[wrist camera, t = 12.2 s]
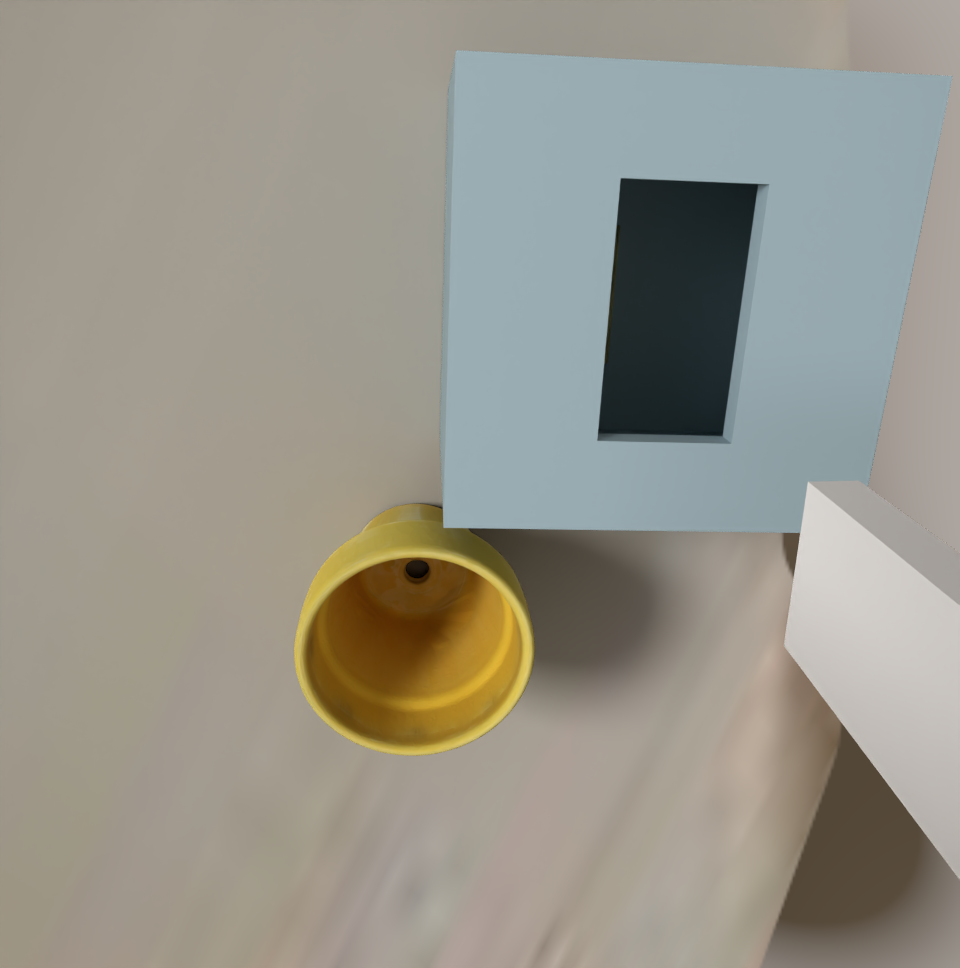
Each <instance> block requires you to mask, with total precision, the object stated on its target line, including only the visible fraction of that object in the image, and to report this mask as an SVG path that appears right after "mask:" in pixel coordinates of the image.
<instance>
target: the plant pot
mask: <svg viewBox="0 0 960 968" xmlns="http://www.w3.org/2000/svg"><path fill="white" fill-rule="evenodd" d="M414 560H422V561H424V562H426V563H427V564H428V565H429V570H428V573H427V574H426V575H425V576H424V577H422V578H418V579H417V578H412V577H410V576H409V575H408V574H407V572H406V565H407V564H408V563H409V562H411V561H414ZM294 654H295V666H296V672H297V676H298V680H299V683H300V685H301V688H302V691H303V693H304V695H305V697H306V699H307V700H308V702H309V704H310V705H311V707H312V708H313V709H314V711H315V712H316V713H317V714H318V715H319V717H320V718H321V719H322V720H323V721H324V722H325V723H326V724H327V725H329V726H330V727H331V728H332V729H333V730H335V731H336V732H338V733H339V734H340V735H342V736H344V737H345V738H347V739H349V740H351V741H352V742H354V743H356V744H359V745H361V746H363V747H366V748H369V749H372V750H376V751H379V752H383V753H389V754H395V755H407V756H408V755H412V756H419V755H430V754H436V753H441V752H445V751H448V750H452V749H455V748H458V747H461V746H463V745H466V744H468V743H470V742H472V741H474V740H476V739H478V738H479V737H481V736H483V735H484V734H486V733H487V732H489V731H490V730H492V729H493V728H494V727H495V726H497V725H498V724H499V723H500V722H501V721H502V720H503V719H504V718H505V717H506V716H507V715H508V714H509V713H510V712H511V711H512V709H513V708H514V707H515V705H516V704H517V702H518V701H519V699H520V698H521V696H522V694H523V693H524V691H525V688H526V686H527V684H528V681H529V679H530V675H531V672H532V668H533V663H534V655H535V641H534V632H533V627H532V622H531V618H530V614H529V610H528V606H527V602H526V599H525V596H524V594H523V591H522V588H521V585H520V583H519V581H518V579H517V577H516V575H515V573H514V571H513V569H512V568H511V567H510V565H509V564H508V562H507V561H506V560H505V559H504V558H503V557H502V555H501V554H500V553H499V552H498V551H497V550H496V549H495V548H493V547H492V546H491V545H490V544H489V543H487V542H486V541H484V540H483V539H481V538H480V537H478V536H477V535H475V534H473V533H471V532H470V530H469V529H468V528H444V527H443V509H441V508H438V507H434V506H431V505H426V504H406V505H401V506H396V507H393V508H391V509H389V510H386V511H384V512H383V513H381V514H379V515H378V516H376V517H375V518H374V519H372V520H371V521H370V522H369V523H368V524H367V525H366V527H365V528H364V529H363V531H362V532H361V533H360V534H358V535H356V536H355V537H353V538H352V539H350V540H349V541H347V542H346V543H345V544H343V545H342V546H341V547H339V548H338V549H337V550H336V551H335V552H334V553H333V554H332V555H331V556H330V557H329V558H328V559H327V560H326V562H325V563H324V564H323V566H322V567H321V568H320V570H319V571H318V573H317V575H316V576H315V578H314V580H313V582H312V584H311V586H310V589H309V591H308V594H307V596H306V599H305V602H304V605H303V608H302V611H301V615H300V619H299V623H298V628H297V632H296V638H295V650H294Z"/></svg>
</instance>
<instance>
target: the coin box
mask: <svg viewBox="0 0 960 968" xmlns="http://www.w3.org/2000/svg"><path fill="white" fill-rule="evenodd" d="M951 81H952V76H940V75H921V74H902V73H882V72H864V71H844V70H825V69H806V68H786V67H767V66H748V65H729V64H709V63H690V62H671V61H652V60H632V59H613V58H594V57H574V56H555V55H536V54H517V53H497V52H478V51H459V50H456V54H455V59H454V64H453V68H452V73H451V78H450V83H449V88H448V115H447V157H446V199H445V240H444V282H443V324H442V366H441V407H440V453H441V478H442V502H443V527H444V528H495V529H565V530H635V531H706V532H776V533H801V526H802V519H803V512H804V505H805V499H806V492H807V485H808V482H813V481H860V482H862V483H863V484H864V485H866V486H867V487H868V484H869V479H870V475H871V470H872V465H873V460H874V455H875V449H876V445H877V440H878V435H879V430H880V426H881V421H882V416H883V411H884V406H885V401H886V397H887V392H888V387H889V382H890V377H891V373H892V368H893V363H894V357H895V353H896V348H897V343H898V338H899V334H900V328H901V324H902V319H903V314H904V309H905V305H906V299H907V294H908V290H909V285H910V280H911V275H912V270H913V265H914V260H915V256H916V251H917V246H918V241H919V237H920V232H921V227H922V222H923V217H924V212H925V207H926V203H927V198H928V193H929V188H930V183H931V178H932V173H933V168H934V163H935V159H936V154H937V149H938V144H939V139H940V135H941V129H942V125H943V120H944V115H945V110H946V105H947V100H948V96H949V91H950V86H951ZM616 225H620V235H619V246H618V257H617V268H616V279H615V290H614V301H613V312H612V323H611V334H610V345H609V356H608V363H604V359H605V348H606V337H607V326H608V315H609V303H610V292H611V281H612V270H613V259H614V247H615V236H616Z"/></svg>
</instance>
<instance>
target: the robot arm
mask: <svg viewBox="0 0 960 968" xmlns="http://www.w3.org/2000/svg"><path fill="white" fill-rule="evenodd" d="M784 646H785V648H786V649H787V650H788V652H789V653H790V654H791V656H792V657H793V658H794V660H795V661H796V662H797V664H798V665H799V666H800V668H801V669H802V670H803V672H804V673H805V674H806V676H807V677H808V678H809V680H810V681H811V682H812V684H813V685H814V686H815V688H816V689H817V690H818V692H819V693H820V694H821V696H822V697H823V698H824V700H825V701H826V702H827V704H828V705H829V706H830V708H831V709H832V710H833V712H834V713H835V714H836V716H837V717H838V718H839V720H840V721H841V722H842V724H843V725H844V726H845V728H846V729H847V730H848V732H849V733H850V734H851V735H852V737H853V738H854V740H855V741H856V742H857V744H858V745H859V746H860V748H861V749H862V750H863V752H864V753H865V754H866V755H867V757H868V758H869V760H870V761H871V762H872V764H873V765H874V766H875V768H876V769H877V770H878V771H879V773H880V774H881V776H882V777H883V778H884V780H885V781H886V782H887V783H888V785H889V786H890V788H891V789H892V790H893V791H894V793H895V794H896V796H897V797H898V798H899V799H900V801H901V802H902V803H903V805H904V806H905V807H906V809H907V810H908V811H909V813H910V814H911V815H912V817H913V818H914V819H915V821H916V822H917V823H918V825H919V826H920V827H921V829H922V830H923V831H924V833H925V834H926V835H927V837H928V838H929V839H930V841H931V842H932V843H933V845H934V846H935V847H936V849H937V850H938V851H939V852H940V854H941V855H942V856H943V858H944V859H945V861H946V862H947V863H948V865H949V866H950V867H951V869H952V870H953V871H954V873H955V874H956V875H957V877H958V878H959V879H960V553H959V552H957V551H956V550H955V549H953V548H952V547H951V546H949V545H948V544H946V543H945V542H944V541H942V540H941V539H939V538H938V537H937V536H935V535H934V534H932V533H931V532H930V531H928V530H927V529H926V528H924V527H923V526H921V525H920V524H919V523H917V522H916V521H914V520H913V519H912V518H910V517H909V516H908V515H906V514H905V513H903V512H902V511H901V510H899V509H898V508H896V507H895V506H894V505H892V504H891V503H889V502H888V501H886V500H885V499H884V498H882V497H881V496H880V495H878V494H877V493H876V492H874V491H873V490H871V489H870V488H869V487H867V486H866V485H864V484H863V483H862V482H860V481H813V482H808V485H807V492H806V499H805V505H804V512H803V519H802V526H801V533H800V539H799V546H798V553H797V561H796V567H795V574H794V580H793V587H792V594H791V601H790V608H789V614H788V621H787V628H786V635H785V642H784Z"/></svg>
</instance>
